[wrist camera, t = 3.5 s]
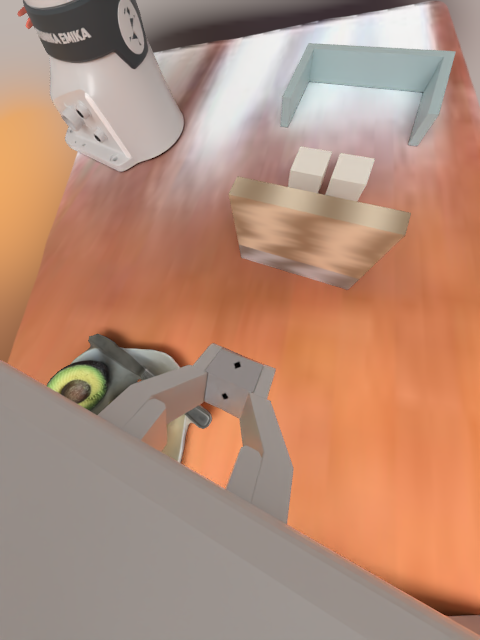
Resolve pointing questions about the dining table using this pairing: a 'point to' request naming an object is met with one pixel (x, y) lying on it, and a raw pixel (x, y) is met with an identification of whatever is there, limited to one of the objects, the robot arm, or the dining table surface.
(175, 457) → the salad plate
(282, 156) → the dining table surface
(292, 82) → the tray
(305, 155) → the cream block
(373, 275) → the dining table surface
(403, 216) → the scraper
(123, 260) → the dining table surface
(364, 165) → the cream block
